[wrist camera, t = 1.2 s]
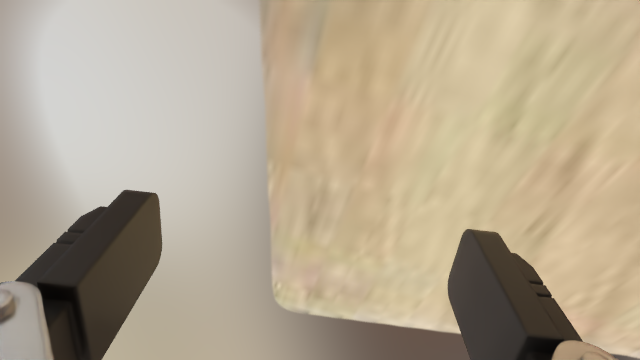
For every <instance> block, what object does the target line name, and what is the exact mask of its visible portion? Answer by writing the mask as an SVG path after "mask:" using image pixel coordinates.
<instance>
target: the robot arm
mask: <svg viewBox="0 0 640 360" xmlns="http://www.w3.org/2000/svg"><path fill="white" fill-rule="evenodd" d="M161 251H162V235H161V221H160V207H159V199H158V196H157V194H156V193H150V192H140V191H132V190H124V191H123V192H122V193H121V194H120V195H119V196H118V197H117V198H116V199H115V200H114V201H113V202H112V203H111V204H110V205H109V206H108V207H99V208H97V209H95V210H93V211H91V212H89V213H87V214H85V215H83V216H81V217H80V218H79V219H78V220H77V221H76V222H75V223H74V224H73V225H72V226H71V227H70V228H69V229H68V232H65V233H64V234H63V235H62V236H60V238H58V239H57V242H56V243H53V244H52V245H51V246H50V247H49V248H48V249H47V250H46V251H45V252H44V253H43V254H42V255H41V256H40V257H39V258H38V259H37V260H36V261H35V262H34V263H33V264H32V265H31V266H30V267H29V268H28V269H27V270H26V271H25V272H24V273H23V274H21V276H19V277H18V278H17V279H16V280H15V281H11V282H2V283H0V360H101V359H102V358H103V356H104V355H105V353H106V351H107V350H108V348H109V346H110V344H111V343H112V341H113V339H114V338H115V336H116V335H117V333H118V331H119V330H120V328H121V326H122V324H123V323H124V321H125V319H126V318H127V316H128V314H129V313H130V311H131V309H132V308H133V306H134V304H135V303H136V301H137V299H138V298H139V296H140V294H141V292H142V291H143V289H144V287H145V286H146V284H147V282H148V281H149V279H150V277H151V276H152V274H153V272H154V271H155V269H156V267H157V265H158V263H159V260H160V256H161ZM448 296H449V300H450V303H451V306H452V309H453V311H454V314H455V317H456V320H457V323H458V326H459V328H460V331H461V334H462V337H463V339H464V343H465V345H466V348H467V351H468V354H469V356H470V359H471V360H618V359H616V358H615V357H614V356H612V355H611V354H609V353H608V352H606V351H604V350H603V349H601V348H599V347H596V346H594V345H591V344H589V343H585V342H583V341H582V339H581V338H580V336H579V335H578V333H577V332H576V330H575V329H574V327H573V326H572V325H571V323H570V322H569V320H568V319H567V317H566V316H565V314H564V313H563V311H562V310H561V308H560V307H559V305H558V304H557V302H556V301H555V299H554V298H552V297H551V296H552V295H551V293H550V292H549V290H548V289H547V287H546V286H545V285H543V282H542V280H541V279H540V277H539V276H538V274H537V273H536V271H535V270H534V268H533V267H532V266H531V265H529V264H528V263H527V262H526V261H525V260H523V259H522V258H521V257H520V256H519V255H517V254H515V253H511V252H510V251H509V249H508V248H507V246H506V244H505V243H504V241H503V240H502V238H501V236H500V235H499V234H498V233H496V232H489V231H480V230H472V229H467V230H466V231H465V232H464V233H463V235H462V238H461V241H460V244H459V247H458V250H457V253H456V256H455V259H454V262H453V265H452V269H451V272H450V275H449V279H448Z"/></svg>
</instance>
